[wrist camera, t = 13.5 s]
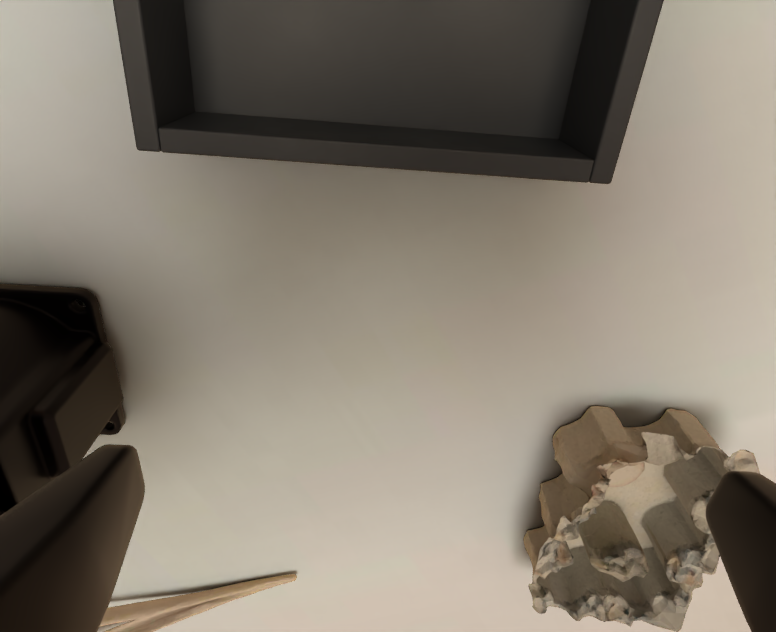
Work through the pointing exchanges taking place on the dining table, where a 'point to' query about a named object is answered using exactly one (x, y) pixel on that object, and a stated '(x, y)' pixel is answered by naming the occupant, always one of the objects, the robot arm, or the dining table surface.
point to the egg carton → (628, 518)
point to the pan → (390, 81)
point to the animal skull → (182, 605)
